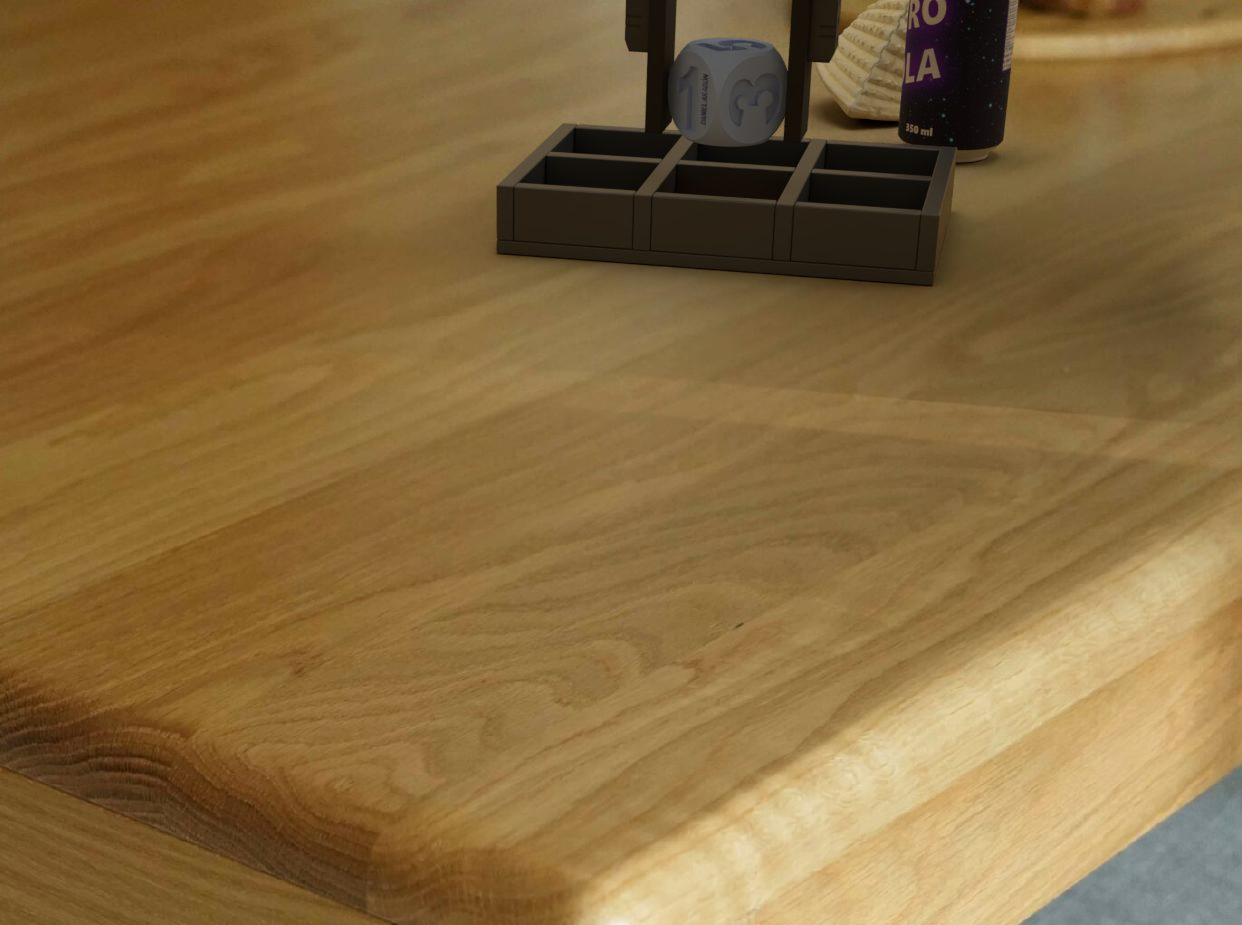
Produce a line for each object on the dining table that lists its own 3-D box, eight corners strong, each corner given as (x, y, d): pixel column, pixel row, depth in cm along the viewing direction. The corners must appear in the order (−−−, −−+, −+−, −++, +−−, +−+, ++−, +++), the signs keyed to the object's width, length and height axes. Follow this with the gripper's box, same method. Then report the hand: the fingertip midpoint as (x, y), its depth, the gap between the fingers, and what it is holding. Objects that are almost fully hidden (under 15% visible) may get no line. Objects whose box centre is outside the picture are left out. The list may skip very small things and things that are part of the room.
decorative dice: (664, 132, 93) (668, 41, 92) (737, 123, 95) (741, 34, 93) (714, 150, 90) (719, 56, 89) (788, 141, 92) (794, 49, 90)
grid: (951, 210, 102) (957, 147, 100) (932, 285, 90) (939, 215, 89) (561, 183, 106) (562, 122, 104) (496, 253, 94) (496, 185, 93)
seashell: (981, 63, 124) (986, 13, 116) (907, 184, 124) (906, 143, 116) (865, 0, 125) (862, -53, 117) (792, 120, 126) (783, 76, 118)
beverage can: (925, 137, 116) (945, -89, 111) (1018, 151, 113) (1044, -80, 108) (878, 155, 112) (896, -78, 107) (973, 171, 109) (998, -69, 104)
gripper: (507, -464, 81) (506, 136, 91) (988, -459, 77) (928, 164, 88) (551, -458, 87) (545, 101, 98) (996, -453, 84) (939, 127, 94)
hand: (726, 130), depth 93 cm, fingers closed on decorative dice, 5 cm apart
